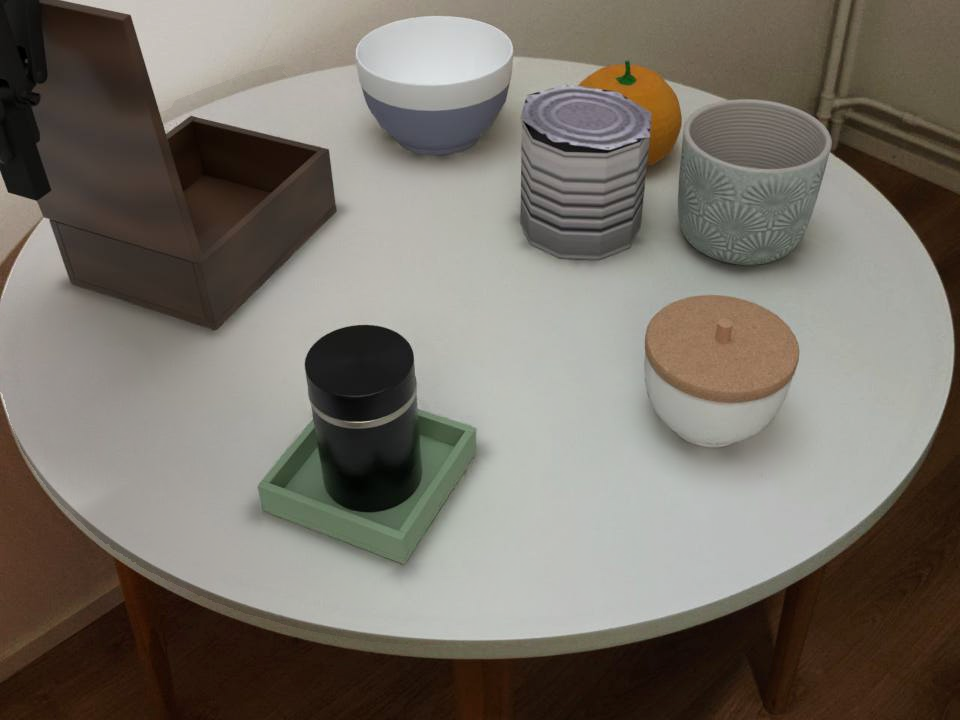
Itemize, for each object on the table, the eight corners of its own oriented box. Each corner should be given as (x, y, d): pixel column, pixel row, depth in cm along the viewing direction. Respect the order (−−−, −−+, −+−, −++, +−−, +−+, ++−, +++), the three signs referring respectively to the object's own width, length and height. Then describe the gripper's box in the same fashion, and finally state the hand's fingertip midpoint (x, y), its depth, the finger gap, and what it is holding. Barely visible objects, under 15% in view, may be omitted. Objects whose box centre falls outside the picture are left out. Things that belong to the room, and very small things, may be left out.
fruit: (542, 139, 111) (545, 50, 104) (638, 115, 114) (647, 27, 108) (598, 194, 103) (605, 101, 96) (699, 166, 106) (713, 75, 100)
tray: (404, 564, 70) (402, 539, 68) (262, 510, 73) (256, 485, 72) (476, 452, 77) (476, 427, 75) (344, 408, 81) (341, 383, 79)
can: (522, 190, 103) (524, 77, 96) (639, 194, 103) (650, 81, 95) (516, 259, 95) (517, 141, 87) (643, 264, 94) (656, 145, 86)
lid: (-46, -23, 74) (-56, -18, 73) (131, 14, 69) (122, 20, 68) (50, 211, 88) (43, 217, 88) (202, 256, 83) (196, 263, 83)
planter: (786, 294, 91) (811, 185, 83) (650, 256, 95) (663, 150, 88) (821, 221, 99) (847, 116, 92) (694, 189, 103) (709, 87, 96)
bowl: (332, 145, 110) (322, 59, 104) (421, 85, 120) (417, 3, 114) (457, 189, 104) (454, 100, 97) (540, 122, 114) (543, 37, 107)
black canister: (392, 526, 71) (380, 410, 64) (303, 493, 74) (282, 377, 66) (440, 456, 76) (433, 341, 69) (354, 427, 78) (340, 312, 71)
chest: (203, 176, 106) (190, 115, 102) (336, 211, 101) (329, 148, 97) (70, 284, 93) (48, 219, 89) (215, 330, 88) (200, 265, 83)
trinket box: (807, 453, 77) (834, 356, 70) (671, 485, 75) (686, 388, 68) (740, 359, 84) (759, 265, 78) (615, 386, 82) (624, 291, 76)
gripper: (-141, -120, 54) (3, 253, 70) (37, -186, 63) (130, 159, 79) (-241, -137, 57) (-80, 226, 72) (-56, -198, 65) (52, 138, 81)
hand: (29, 191), depth 76 cm, fingers closed
